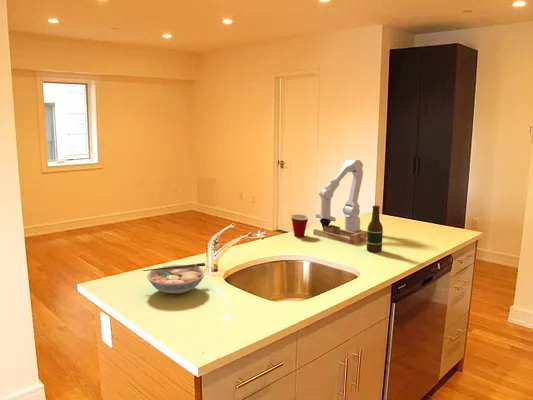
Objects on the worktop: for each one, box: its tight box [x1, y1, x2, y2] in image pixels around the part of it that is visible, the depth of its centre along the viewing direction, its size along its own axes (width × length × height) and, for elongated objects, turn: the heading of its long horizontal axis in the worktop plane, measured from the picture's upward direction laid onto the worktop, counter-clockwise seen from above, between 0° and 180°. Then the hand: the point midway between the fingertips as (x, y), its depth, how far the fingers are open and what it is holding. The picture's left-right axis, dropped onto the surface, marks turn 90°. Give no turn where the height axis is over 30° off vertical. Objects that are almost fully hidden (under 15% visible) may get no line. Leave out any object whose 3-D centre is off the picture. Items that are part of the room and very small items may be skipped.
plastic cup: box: [290, 214, 310, 238], centre depth 268 cm, size 11×11×12 cm
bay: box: [312, 228, 367, 245], centre depth 266 cm, size 13×30×5 cm, turn 40°
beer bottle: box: [366, 205, 384, 254], centre depth 237 cm, size 8×8×24 cm
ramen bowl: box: [142, 262, 206, 295], centre depth 181 cm, size 25×23×8 cm
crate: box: [322, 224, 341, 235], centre depth 271 cm, size 7×7×5 cm
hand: (325, 231), depth 275 cm, fingers closed
